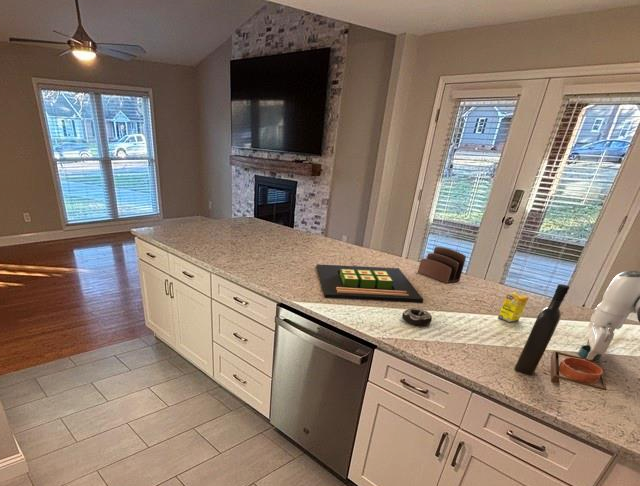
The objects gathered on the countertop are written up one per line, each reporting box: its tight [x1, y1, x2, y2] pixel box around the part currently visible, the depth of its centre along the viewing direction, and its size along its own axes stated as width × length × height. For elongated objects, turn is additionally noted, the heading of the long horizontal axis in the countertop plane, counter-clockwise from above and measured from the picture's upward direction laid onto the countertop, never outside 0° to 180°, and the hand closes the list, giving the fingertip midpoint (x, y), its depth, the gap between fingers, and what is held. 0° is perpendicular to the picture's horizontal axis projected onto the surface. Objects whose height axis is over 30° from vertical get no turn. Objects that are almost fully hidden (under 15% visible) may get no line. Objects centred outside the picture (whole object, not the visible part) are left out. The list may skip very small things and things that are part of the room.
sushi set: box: [316, 263, 424, 304], centre depth 207 cm, size 45×45×4 cm
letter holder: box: [417, 246, 467, 284], centre depth 218 cm, size 10×20×14 cm, turn 30°
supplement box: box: [497, 291, 530, 324], centre depth 174 cm, size 6×6×11 cm
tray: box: [550, 350, 607, 391], centre depth 139 cm, size 14×20×2 cm
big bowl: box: [557, 356, 604, 384], centre depth 136 cm, size 11×11×5 cm
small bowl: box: [577, 344, 604, 362], centre depth 147 cm, size 7×7×4 cm
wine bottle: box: [514, 283, 570, 376], centre depth 133 cm, size 6×6×30 cm
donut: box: [401, 307, 433, 327], centre depth 171 cm, size 12×12×4 cm
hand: (587, 354), depth 147 cm, fingers closed on small bowl, 6 cm apart
